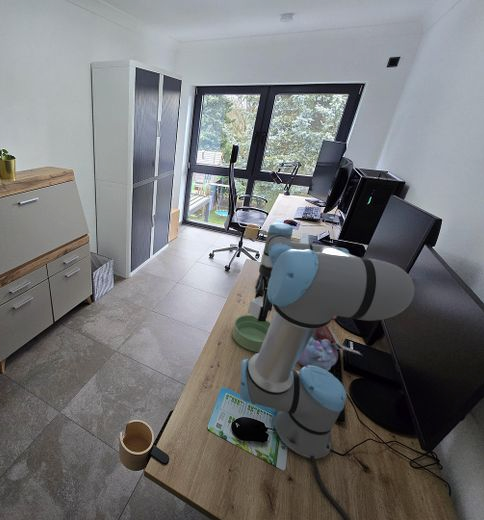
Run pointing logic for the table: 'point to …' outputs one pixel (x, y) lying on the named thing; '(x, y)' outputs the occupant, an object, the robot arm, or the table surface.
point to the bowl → (250, 332)
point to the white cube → (256, 307)
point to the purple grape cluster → (322, 349)
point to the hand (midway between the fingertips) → (258, 313)
